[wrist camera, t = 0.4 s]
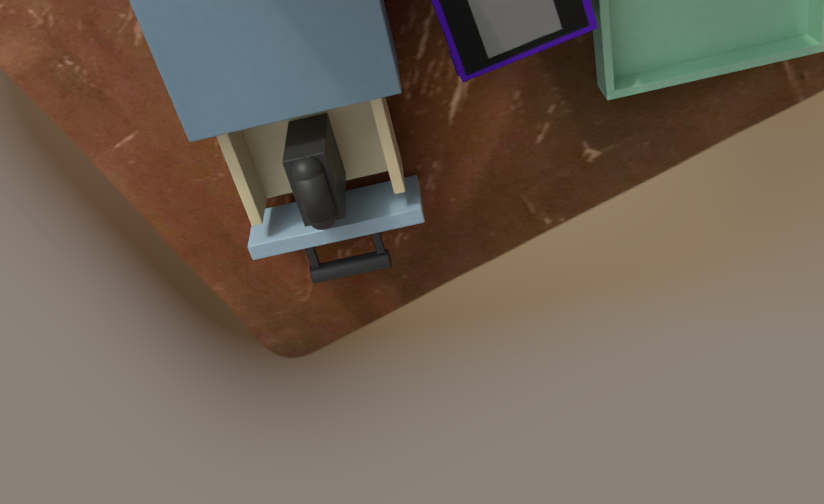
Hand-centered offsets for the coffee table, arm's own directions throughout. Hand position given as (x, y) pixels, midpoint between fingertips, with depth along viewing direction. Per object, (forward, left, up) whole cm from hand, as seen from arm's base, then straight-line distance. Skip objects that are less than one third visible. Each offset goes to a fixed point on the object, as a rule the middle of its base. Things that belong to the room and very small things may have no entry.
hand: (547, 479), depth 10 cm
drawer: (+16, -9, -45) cm, 48 cm away
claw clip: (+15, -9, -43) cm, 47 cm away
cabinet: (+3, -9, -46) cm, 47 cm away
